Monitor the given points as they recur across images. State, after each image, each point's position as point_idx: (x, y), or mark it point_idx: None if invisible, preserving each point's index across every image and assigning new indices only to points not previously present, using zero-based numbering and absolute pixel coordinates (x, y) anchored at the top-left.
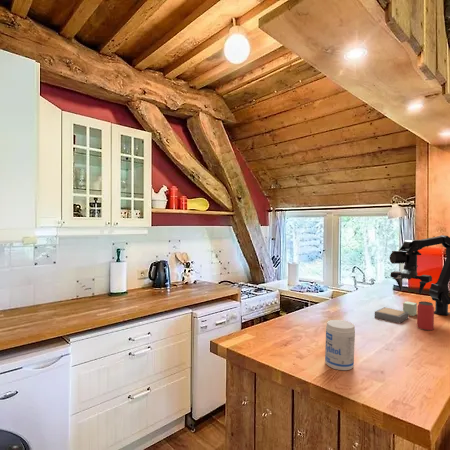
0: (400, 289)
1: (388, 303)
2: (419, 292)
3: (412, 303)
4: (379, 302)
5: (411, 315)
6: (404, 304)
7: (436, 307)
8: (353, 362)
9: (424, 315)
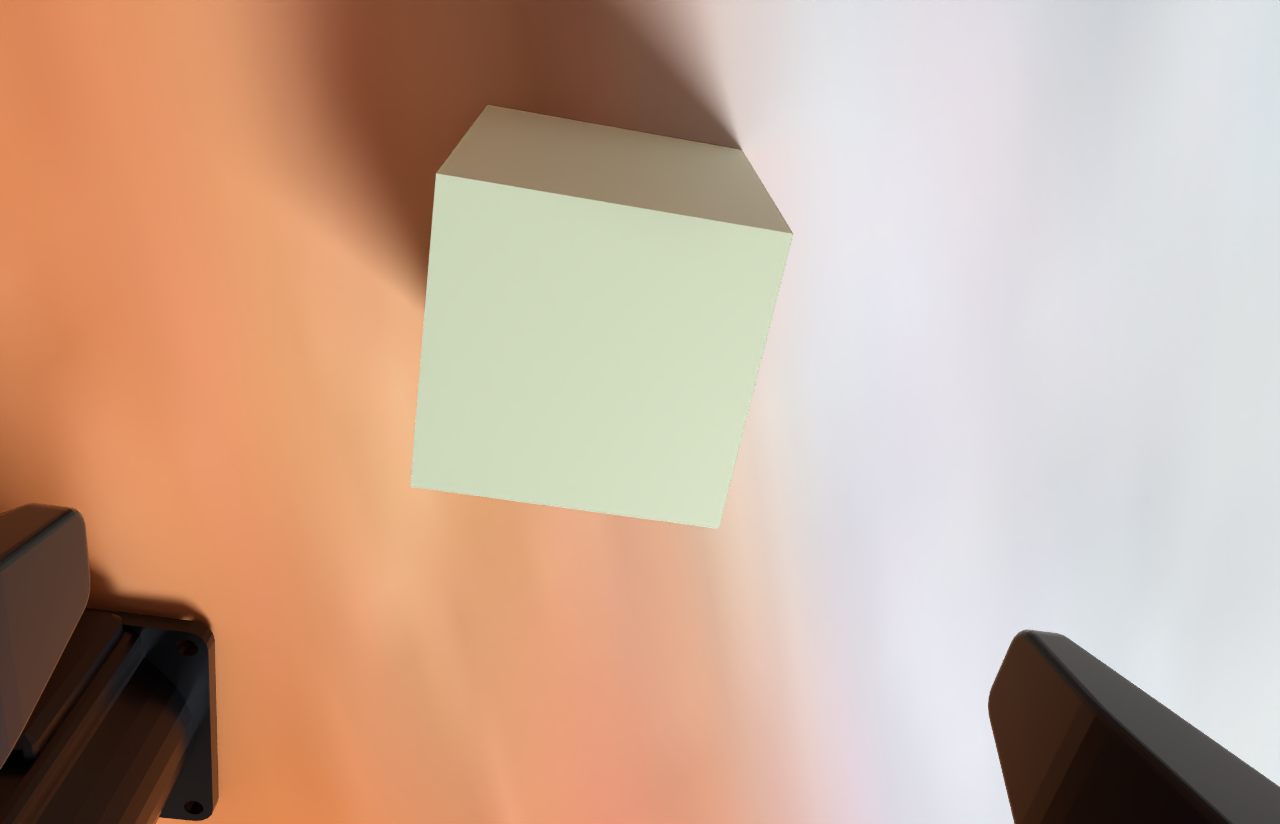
0: (1100, 674)
1: None
2: (7, 547)
3: (509, 360)
4: (1264, 772)
5: (530, 113)
6: (742, 216)
7: (74, 720)
8: None
9: None
